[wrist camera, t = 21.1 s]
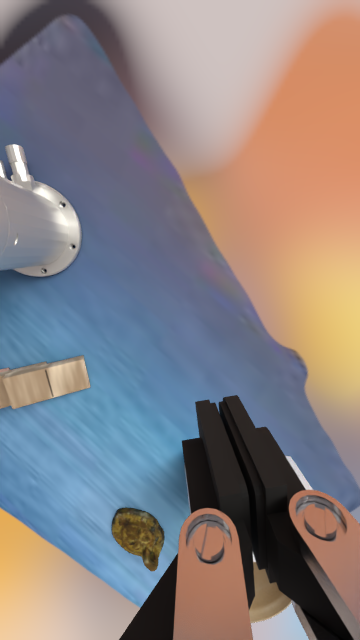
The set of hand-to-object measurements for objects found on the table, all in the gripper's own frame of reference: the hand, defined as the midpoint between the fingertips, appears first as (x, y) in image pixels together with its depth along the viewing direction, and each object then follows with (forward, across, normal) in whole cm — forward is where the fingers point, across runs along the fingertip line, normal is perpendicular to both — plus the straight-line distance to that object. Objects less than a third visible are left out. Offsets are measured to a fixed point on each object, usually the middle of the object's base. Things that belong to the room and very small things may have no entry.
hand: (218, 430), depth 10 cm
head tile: (+30, +16, +10) cm, 35 cm away
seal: (+32, +14, +48) cm, 59 cm away
